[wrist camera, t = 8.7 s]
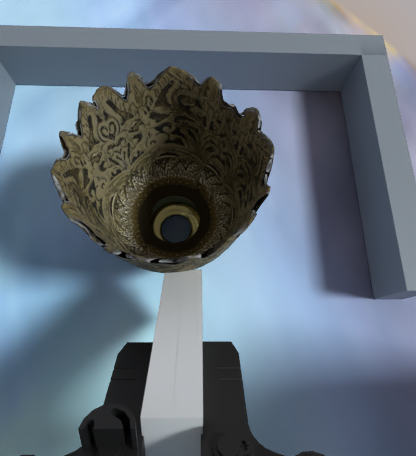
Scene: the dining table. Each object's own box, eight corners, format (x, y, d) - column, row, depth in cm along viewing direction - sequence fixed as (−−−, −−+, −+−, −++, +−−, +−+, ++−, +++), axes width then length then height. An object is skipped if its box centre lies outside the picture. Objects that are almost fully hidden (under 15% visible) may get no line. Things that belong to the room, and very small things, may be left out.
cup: (80, 228, 19) (3, 149, 11) (177, 147, 21) (167, 33, 13) (174, 327, 17) (157, 313, 10) (270, 230, 19) (318, 155, 12)
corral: (-63, 299, 17) (-113, 290, 14) (-4, 65, 22) (-33, 24, 19) (401, 299, 18) (440, 290, 15) (359, 73, 23) (382, 35, 20)
